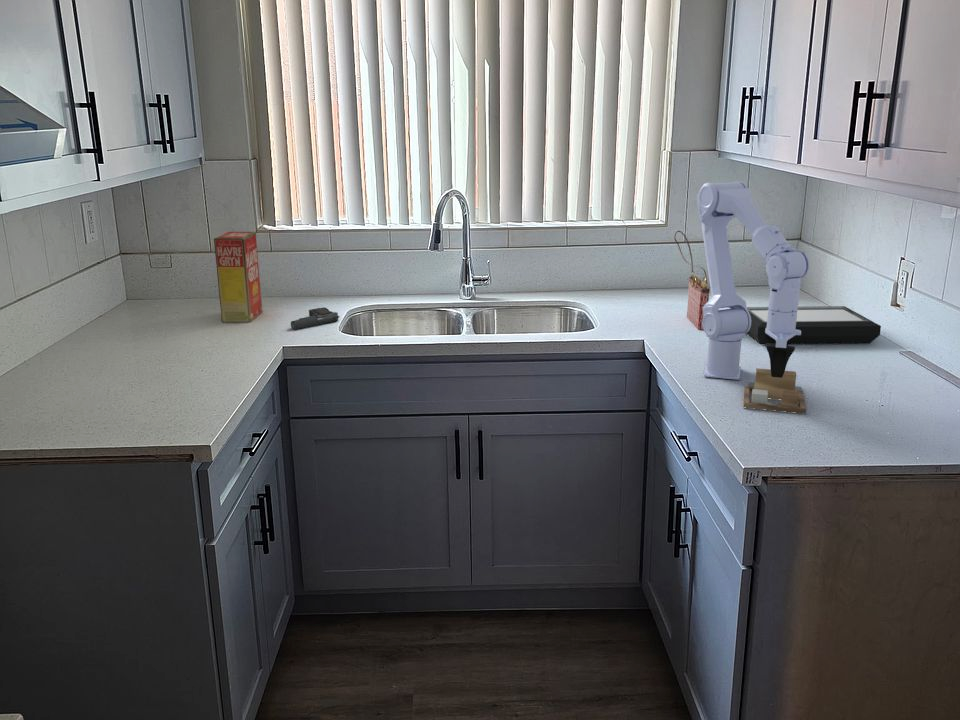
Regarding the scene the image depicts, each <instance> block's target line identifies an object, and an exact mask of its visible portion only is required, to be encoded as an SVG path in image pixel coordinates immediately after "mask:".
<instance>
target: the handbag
mask: <svg viewBox="0 0 960 720" xmlns="http://www.w3.org/2000/svg"><path fill="white" fill-rule="evenodd" d="M678 233H681V234H682V236H683V237H684V239H685V241H686V244H687V247H688V251H689V256H690V260H691V263H690V262H689V261H687V259H686V258H685V257H684V255H683V252H682V250H681V246H680V244H679V241H678V240H677V239H676V236H677V234H678ZM673 237H674V241H675V243H676V245H677V246H678V251H679V253H680V254H681V256H682V259H683V260H684V261H685V262H686V264H689V265H691V276H689V277H688V291H687V292H688V296H687V308H686V318H687V319H688V320H689V321H690V322H691V323H692V324H693V325H694V327H695V328H696V329H697V330H698V329H699V331H704V329H703V325H702V321H703V307H704V305H705V304H706V303H707V302H708V301H709V300H710V293H711V288H710V286H709V285H708V276H707V272H706V270H705V269H704V267H701V266H698V265H694V264H693V255H692V250H691V246H690V242H689V240H688V239H687V236H686V235H685V233H684V232H682V231H681V230H677V231H676V232H675V233H674V236H673ZM694 267H697V268H700V269H702V270H703V271H704V276H703V278H702V279H700V278H699V277H698V276H695V275H694ZM704 281H705V282H704Z"/></svg>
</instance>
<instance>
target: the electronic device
mask: <svg viewBox="0 0 960 720" xmlns="http://www.w3.org/2000/svg"><path fill="white" fill-rule="evenodd" d="M768 307H769V306H747V310H748V312H749V313H750V316H751V327H750V329H749V331H748V332H747V333H746V334H747V335H748V334H749V335H750V336H751V337H750V336H749V335H748V336H749V337H750V338H751V339H753V340H754V341H755V340H756V341H757V343H758V344H759V345H760V344H766V343H768V341H767V338H766V336H765V328H766V327H767V318H768ZM881 328H882V326H881V325H880V324H878V323H876V322H874V321H873V320H871V319H869V318H867V317H865V316H863V315H861V314H860V313H858V312H856V311H854V310H853V309H851V308H849V307H847V306H845V305H844V306H843V305H842V306H841V305H837V306H836V305H831V306H830V305H829V306H827V305H825V306H820V305H819V306H798V310H797V320H796V330H801V335H795V336H793V338H792V339H791V341H790V343H789V345H834V344H835V345H844V344H845V345H847V344H848V345H851V344H853V345H858V344H865V345H866V344H869V345H870V344H871V343H872V342H873V341H875V340H876V339H877V338H878V337H879V336H880V334H881ZM756 341H755V342H756Z"/></svg>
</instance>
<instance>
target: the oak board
mask: <svg viewBox="0 0 960 720" xmlns="http://www.w3.org/2000/svg"><path fill="white" fill-rule="evenodd" d="M796 382H797V372H796V371H793V370H792V371H791V370H785V372H784V374H783V377H782V378H779V377H772V375H771V368H770V369H769V368H756V370H755V379H754V383H755V386H754V389H758V390H768V398H771V399H781V400H782V393H783V389H784V390H795V386H796V384H797V383H796ZM781 400H780V401H781Z"/></svg>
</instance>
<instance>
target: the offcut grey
mask: <svg viewBox="0 0 960 720" xmlns="http://www.w3.org/2000/svg"><path fill="white" fill-rule="evenodd" d="M768 400H769V399H768V390H758V389H753V390H752V392H751V400H750V403H758V404H768Z"/></svg>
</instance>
